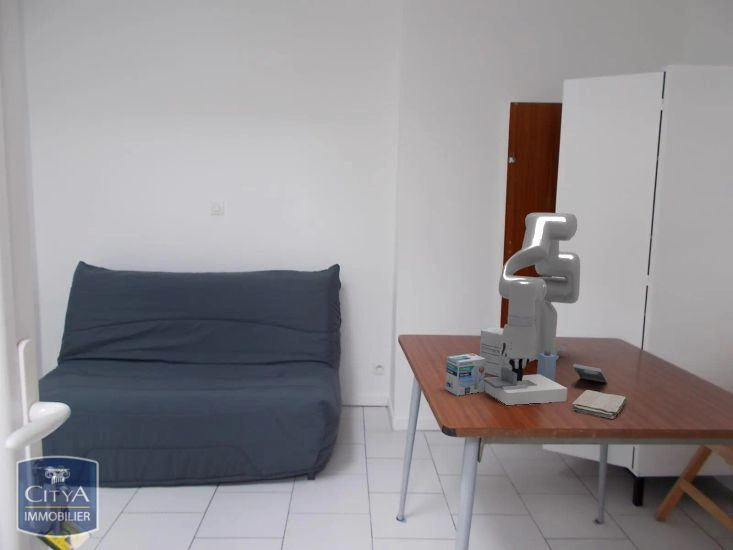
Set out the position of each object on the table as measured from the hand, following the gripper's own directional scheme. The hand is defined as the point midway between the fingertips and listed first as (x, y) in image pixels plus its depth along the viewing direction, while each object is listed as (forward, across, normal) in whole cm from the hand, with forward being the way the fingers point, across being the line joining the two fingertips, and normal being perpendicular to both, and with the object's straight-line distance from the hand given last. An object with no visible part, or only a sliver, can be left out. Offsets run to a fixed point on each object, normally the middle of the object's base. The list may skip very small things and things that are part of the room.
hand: (517, 379), depth 160 cm
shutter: (+1, +6, 0) cm, 6 cm away
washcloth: (+6, -20, +13) cm, 24 cm away
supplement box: (+6, -7, -24) cm, 26 cm away
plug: (+5, -16, -8) cm, 18 cm away
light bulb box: (+6, +13, -8) cm, 16 cm away
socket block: (+5, -3, 0) cm, 6 cm away
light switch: (+6, -30, -4) cm, 31 cm away
